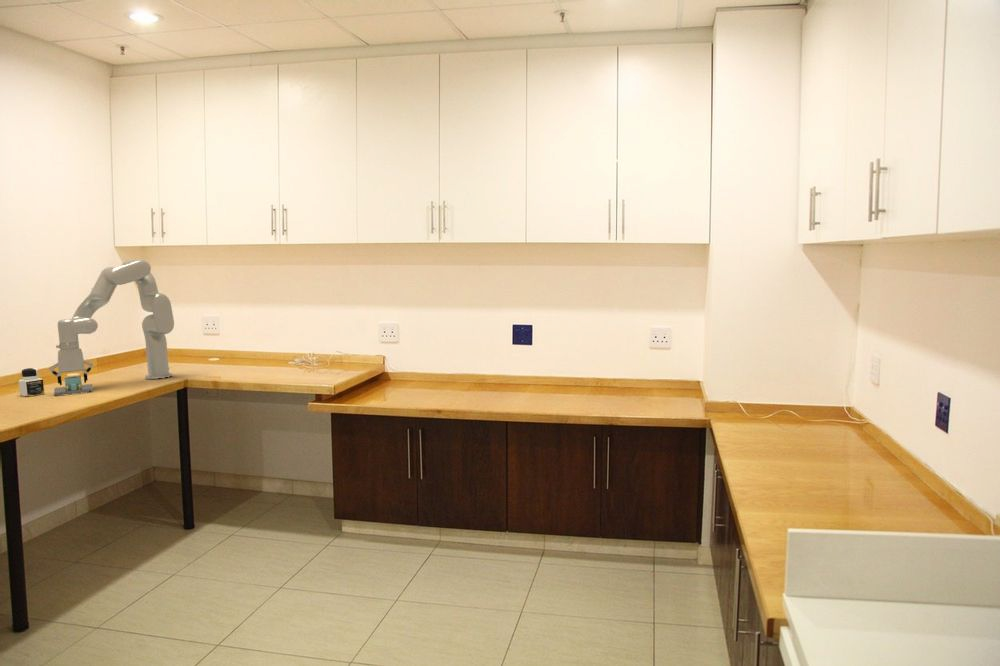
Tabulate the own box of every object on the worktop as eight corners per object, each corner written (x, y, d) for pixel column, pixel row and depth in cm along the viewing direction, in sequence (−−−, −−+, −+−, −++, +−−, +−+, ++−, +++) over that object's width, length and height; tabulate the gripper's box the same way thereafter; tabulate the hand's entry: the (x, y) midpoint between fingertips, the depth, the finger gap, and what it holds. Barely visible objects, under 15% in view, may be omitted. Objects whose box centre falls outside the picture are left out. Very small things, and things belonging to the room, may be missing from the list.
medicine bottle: (27, 397, 322) (24, 370, 321) (19, 395, 326) (16, 369, 325) (44, 394, 328) (42, 367, 327) (36, 392, 332) (33, 366, 331)
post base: (54, 391, 335) (53, 378, 335) (92, 387, 343) (90, 374, 342) (54, 396, 322) (53, 382, 322) (93, 391, 330) (92, 378, 329)
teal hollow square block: (65, 388, 334) (64, 377, 333) (81, 386, 337) (80, 375, 336) (65, 391, 326) (64, 380, 325) (82, 389, 329) (81, 378, 328)
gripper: (46, 349, 323) (50, 387, 325) (91, 345, 331) (95, 382, 333) (47, 347, 329) (51, 384, 331) (90, 344, 338) (94, 380, 340)
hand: (73, 383), depth 332 cm, fingers open, 9 cm apart
